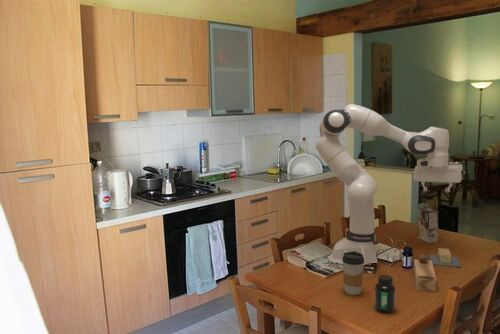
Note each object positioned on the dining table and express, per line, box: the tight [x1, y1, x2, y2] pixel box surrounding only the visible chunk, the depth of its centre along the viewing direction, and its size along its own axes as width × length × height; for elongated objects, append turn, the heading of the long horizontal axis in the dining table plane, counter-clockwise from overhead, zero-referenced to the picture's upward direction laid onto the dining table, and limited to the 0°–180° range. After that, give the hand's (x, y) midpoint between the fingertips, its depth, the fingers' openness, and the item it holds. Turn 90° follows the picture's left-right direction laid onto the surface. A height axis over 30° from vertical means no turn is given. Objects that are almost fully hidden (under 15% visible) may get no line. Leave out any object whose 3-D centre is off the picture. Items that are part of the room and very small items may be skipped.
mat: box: [428, 253, 462, 269], centre depth 193 cm, size 12×12×1 cm
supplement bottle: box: [374, 274, 396, 314], centre depth 150 cm, size 7×7×12 cm
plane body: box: [413, 253, 437, 293], centre depth 173 cm, size 7×20×8 cm, turn 162°
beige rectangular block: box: [437, 247, 452, 264], centre depth 192 cm, size 4×9×4 cm, turn 162°
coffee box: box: [416, 207, 440, 244], centre depth 221 cm, size 9×6×16 cm
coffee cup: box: [342, 252, 364, 296], centre depth 164 cm, size 8×8×15 cm
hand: (436, 191), depth 195 cm, fingers open, 8 cm apart
